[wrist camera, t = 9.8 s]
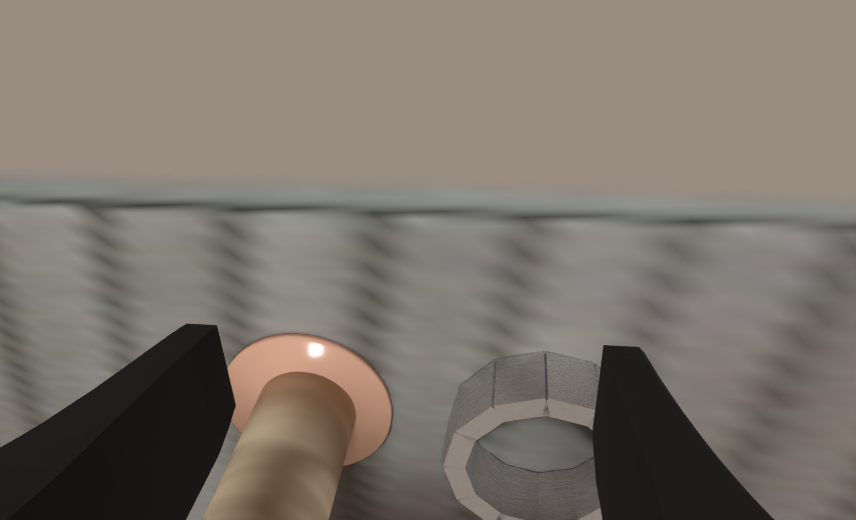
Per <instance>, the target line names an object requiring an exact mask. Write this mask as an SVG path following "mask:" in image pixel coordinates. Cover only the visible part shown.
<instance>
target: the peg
mask: <svg viewBox="0 0 856 520" xmlns="http://www.w3.org/2000/svg"><path fill="white" fill-rule="evenodd" d="M355 420H356V410H355V406H354V403H353V401H352V399H351V398H350V396H349V395H348V394H347V393H346V391H345V390H344V389H342V388H341V387H340V386H339V385H338V384H336V383H335V382H333V381H331V380H330V379H327V378H325V377H323V376H320V375H317V374H313V373H308V372H289V373H284V374H281V375H278V376H276V377H274V378H272V379H271V380H269V381H268V382H267V383H266V384H265V386H264V387H263V389H262V391H261V393H260V395H259V397H258V399H257V401H256V404H255V406H254V408H253V410H252V412H251V415H250V417H249V419H248V421H247V423H246V425H245V428H244V430H243V432H242V434H241V436H240V439H239V441H238V443H237V445H236V447H235V450H234V452H233V454H232V456H231V458H230V461H229V463H228V465H227V467H226V469H225V471H224V474H223V476H222V478H221V480H220V482H219V485H218V487H217V489H216V491H215V493H214V496H213V498H212V500H211V502H210V504H209V507H208V509H207V511H206V513H205V515H204V518H203V520H329V517H330V513H331V509H332V506H333V502H334V498H335V494H336V491H337V487H338V483H339V480H340V476H341V472H342V469H343V465H344V461H345V457H346V454H347V450H348V446H349V443H350V439H351V435H352V432H353V428H354V424H355Z"/></svg>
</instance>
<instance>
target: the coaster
mask: <svg viewBox="0 0 856 520" xmlns="http://www.w3.org/2000/svg"><path fill="white" fill-rule="evenodd" d="M289 372H308V373H313V374H317V375H320V376H323V377H325V378H327V379H330V380H331V381H333V382H335V383H336V384H338V385H339V386H340V387H341V388H342V389H344V390H345V391H346V393H347V394H348V395H349V396H350V398H351V399H352V401H353V403H354V406H355V410H356V420H355V424H354V428H353V432H352V435H351V439H350V443H349V446H348V450H347V454H346V457H345V461H344V465H343V466H346V465H350V464H353V463H356V462H358V461H361V460H363V459H365V458H366V457H368V456H370V455H371V454H372V453H374V452H375V451H376V450H377V449H378V448H379V447H380V446H381V444H382V443H383V442H384V440H385V438H386V437H387V434H388V431H389V429H390V424H391V419H392V401H391V396H390V394H389V391H388V388H387V386H386V384H385V383H384V381H383V379H382V378H381V376H380V375H379V374H378V372H377V371H376V370H375V369H374V368H373V367H372V366H371V365H370V364H369V363H368V362H367V361H366V360H365V359H364V358H362V357H361V356H360V355H358V354H357V353H355V352H354V351H352V350H351V349H349V348H347V347H345V346H343V345H341V344H339V343H336V342H334V341H332V340H329V339H325V338H322V337H319V336H314V335H309V334H299V333H284V334H276V335H271V336H267V337H263V338H261V339H258V340H256V341H254V342H252V343H250V344H249V345H247V346H246V347H244V348H243V349H242V350H241V351H240V352H239V353H238V354H237V355H236V356H235V357H234V359H233V360H232V362H231V364H230V366H229V367H228V374H229V378H230V382H231V386H232V390H233V394H234V398H235V403H236V407H235V410H234V413H233V416H232V419H231V420H232V422H233V423H234V425H235V426H236V428H237V429H238V430H239V431H240V432H241V433H242V432H243V430H244V428H245V425H246V423H247V421H248V419H249V417H250V415H251V412H252V410H253V408H254V406H255V404H256V401H257V399H258V397H259V395H260V393H261V391H262V389H263V387H264V386H265V384H266V383H267V382H268V381H269V380H271V379H272V378H274V377H276V376H278V375H281V374H284V373H289Z"/></svg>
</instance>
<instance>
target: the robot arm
mask: <svg viewBox="0 0 856 520" xmlns="http://www.w3.org/2000/svg"><path fill="white" fill-rule="evenodd" d="M235 407H236V403H235V398H234V394H233V390H232V386H231V382H230V378H229V374H228V369H227V365H226V361H225V357H224V353H223V349H222V345H221V340H220V336H219V332H218V328H217V325H202V324H185V325H184V326H182V327H181V328H179V329H178V330H176V331H175V332H173V333H172V334H170V335H169V336H167V337H166V338H165V339H163V340H162V341H160V342H159V343H158V344H156V345H155V346H153V347H152V348H151V349H149V350H148V351H146V352H145V353H144V354H142V355H141V356H140V357H138V358H137V359H135V360H134V361H133V362H131V363H130V364H128V365H127V366H126V367H124V368H123V369H121V370H120V371H119V372H117V373H116V374H114V375H113V376H112V377H110V378H109V379H107V380H106V381H105V382H103V383H102V384H100V385H99V386H98V387H96V388H95V389H93V390H92V391H90V392H89V393H87V394H86V395H84V396H83V397H81V398H80V399H78V400H77V401H75V402H73V403H72V404H70V405H69V406H67V407H66V408H64V409H63V410H61V411H60V412H58V413H57V414H55V415H54V416H52V417H51V418H49V419H48V420H46V421H45V422H43V423H41V424H40V425H38V426H37V427H35V428H33V429H32V430H30V431H28V432H27V433H25V434H23V435H21V436H20V437H18V438H16V439H15V440H13V441H11V442H9V443H8V444H6V445H4V446H2V447H0V520H186V518H187V516H188V515H189V513H190V511H191V509H192V507H193V505H194V503H195V501H196V499H197V497H198V495H199V493H200V491H201V489H202V487H203V485H204V483H205V481H206V479H207V477H208V475H209V473H210V471H211V469H212V467H213V465H214V463H215V461H216V459H217V457H218V455H219V453H220V450H221V448H222V445H223V442H224V440H225V437H226V434H227V431H228V428H229V425H230V422H231V419H232V416H233V413H234V410H235ZM593 446H594V463H595V477H596V486H597V492H598V497H599V503H600V509H601V514H602V520H774V519H773V518H772V517H771V516H770V515H769V514H768V513H767V512H766V511H765V510H764V509H763V508H762V507H761V506H760V505H759V503H758V502H757V501H756V500H755V499H754V498H753V497H752V496H751V495H750V494H749V493H748V492H747V490H746V489H745V488H744V487H743V486H742V485H741V484H740V483H739V481H738V480H737V479H736V478H735V477H734V476H733V475H732V473H731V472H730V471H729V470H728V469H727V467H726V466H725V465H724V464H723V463H722V462H721V460H720V459H719V458H718V457H717V456H716V454H715V453H714V452H713V451H712V449H711V448H710V447H709V446H708V444H707V443H706V442H705V440H704V439H703V438H702V436H701V435H700V434H699V432H698V431H697V430H696V428H695V427H694V426H693V424H692V423H691V422H690V420H689V419H688V418H687V417H686V415H685V414H684V412H683V411H682V410H681V408H680V407H679V405H678V404H677V403H676V401H675V400H674V398H673V397H672V395H671V394H670V392H669V391H668V389H667V388H666V386H665V385H664V383H663V382H662V380H661V379H660V377H659V376H658V374H657V373H656V371H655V369H654V368H653V366H652V365H651V363H650V361H649V360H648V358H647V356H646V355H645V353H644V352H643V351H642V350H641V349H640V348H639V347H628V346H609V345H604V346H603V354H602V361H601V369H600V376H599V384H598V391H597V399H596V407H595V414H594V422H593Z"/></svg>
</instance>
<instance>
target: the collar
mask: <svg viewBox="0 0 856 520" xmlns="http://www.w3.org/2000/svg"><path fill="white" fill-rule="evenodd" d="M600 369H601V368H600V367H598V366H597V365H594V363H591V362H587V361H583V360H579V359H575V358H571V357H567V356H563V355H559V354H555V353H551V352H547V351H546V354H544V351H543V352H537V353H531V354H525V355H519V356H513V357H506V358H500V359H496V361H495V360H494V361H492V362H491V363H490V364H488V365H487V366H485V367H484V368H483V369H481V370H480V371H479V372H477V373H476V374H474V375H473V376H472V377H470V378H469V379H468V380H466V381H465V382H464V383H462V384H461V386H460V387H459V391H458V394H457V397H456V400H455V403H454V406H453V409H452V412H451V415H450V419H449V426H448V434H447V441H446V449H445V456H444V463H443V468H444V471H445V473H446V475H447V478H448V480H449V482H450V485H451V487H452V489H453V492H454V494H455V496H456V499H457V500H458V501H459V502H460V503H461V504H463V505H464V506H465V507H467V508H468V509H470V510H471V511H472V512H474V513H475V514H477V515H478V516H479V517H481V518H482V519H483V520H602V514H601V509H600V503H599V497H598V492H597V486H596V477H595V463H594V457H593V458H592V459H590V460H588V461H587V462H585V463H583V464H581V465H580V466H578V467H576V468H575V469H568V470H560V471H552V472H543V473H537V472H533V471H529V470H525V469H520V468H516V467H512V466H508V465H505V464H503V463H502V462H501V461H499V460H498V459H497V458H495V457H494V456H493V455H491V454H490V453H489V452H488V451H486V450H485V449H484V448H482V447H481V446H480V445H479V443H478V439H479V438H481V437H482V436H484V435H485V434H487V433H488V432H490V431H491V430H493V429H494V428H496V427H497V426H499V425H500V424H502V423H503V422H506V421H513V420H521V419H528V418H535V417H542V416H548V417H552V418H556V419H560V420H564V421H568V422H572V423H576V424H580V425H584V426H588V427H589V428H590V429H591V430H592V431H593V422H594V414H595V407H596V399H597V391H598V384H599V376H600Z"/></svg>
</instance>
